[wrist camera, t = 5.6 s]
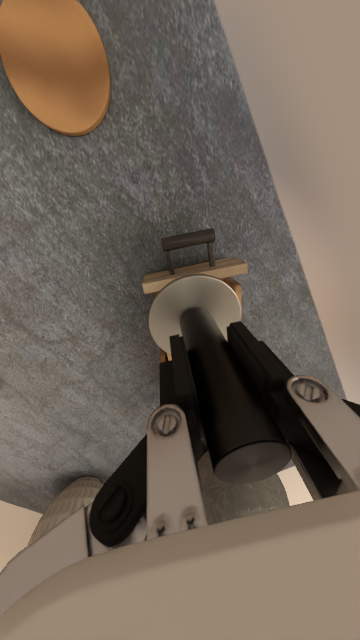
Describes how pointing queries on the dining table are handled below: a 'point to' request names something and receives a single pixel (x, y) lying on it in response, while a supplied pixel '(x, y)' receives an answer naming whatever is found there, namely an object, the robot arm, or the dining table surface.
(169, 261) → the drawer
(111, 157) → the dining table surface
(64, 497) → the vase
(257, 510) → the bowl
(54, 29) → the disc
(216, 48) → the dining table surface
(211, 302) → the rod on disc base
